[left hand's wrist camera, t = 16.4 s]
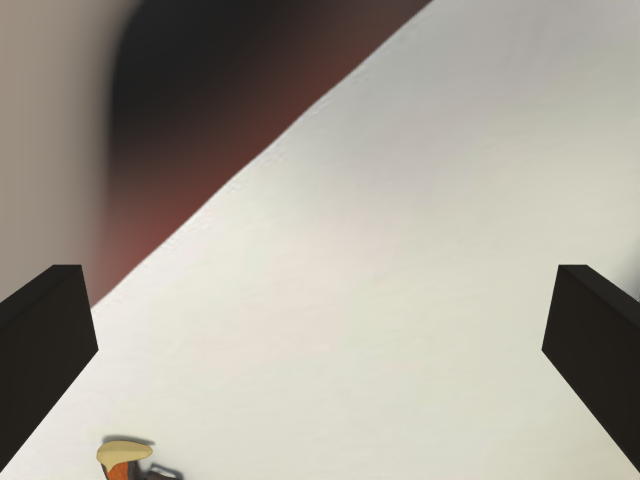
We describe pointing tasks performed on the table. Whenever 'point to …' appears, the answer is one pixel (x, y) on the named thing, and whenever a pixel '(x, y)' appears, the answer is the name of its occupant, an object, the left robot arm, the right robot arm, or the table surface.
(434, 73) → the table surface
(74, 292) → the left robot arm
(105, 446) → the toy gun
